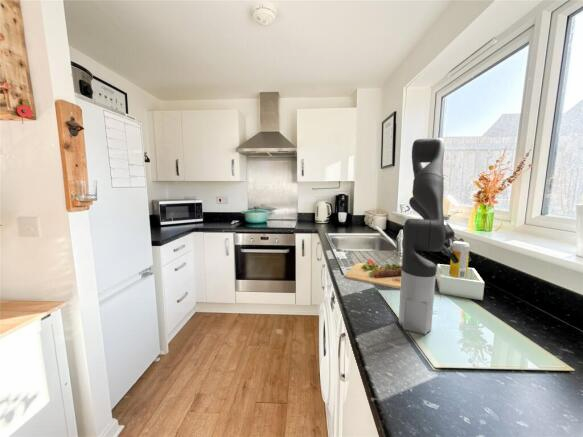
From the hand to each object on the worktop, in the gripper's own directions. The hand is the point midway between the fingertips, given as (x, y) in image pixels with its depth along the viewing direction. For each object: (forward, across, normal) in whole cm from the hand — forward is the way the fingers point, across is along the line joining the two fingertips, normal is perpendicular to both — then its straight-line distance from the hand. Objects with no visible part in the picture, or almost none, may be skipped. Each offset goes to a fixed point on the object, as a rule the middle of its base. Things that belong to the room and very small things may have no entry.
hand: (463, 261), depth 101 cm
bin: (+7, 0, +10) cm, 12 cm away
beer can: (+4, 0, +6) cm, 8 cm away
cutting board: (-6, -20, +24) cm, 32 cm away
